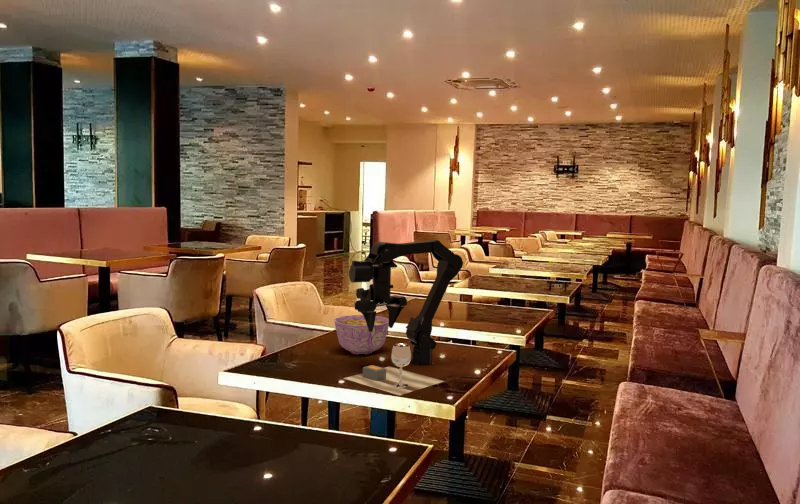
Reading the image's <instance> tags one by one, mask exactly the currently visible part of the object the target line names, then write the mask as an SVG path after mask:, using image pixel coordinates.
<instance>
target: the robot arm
mask: <svg viewBox="0 0 800 504" xmlns="http://www.w3.org/2000/svg"><path fill="white" fill-rule="evenodd" d="M427 253H431V255H432V256H433V258H434V259H435V260H436V261H437V266H436V277H435V279H434V280H433V283H432V286H431V288H430V290H429V291H428V294H427V296H426V299H425V301H424V303H423V305H422V307H421V309H420V312H419V313H418V315H417V316H416V317H413V316H411V317H410V318H409V321H408V323H407V325H406V326H405V328H406V330H405V334H406V335H405V336H406V338H407V339H408V340H409V341H410V344H411V346H413V348H412V349H413V350H412V358H411V361H412V362H411V363H412V364H413V365H417V366H423V365H430V364H432V365H436V362H435V363H434V362H433V350H435V349H436V347H437V342H436V341H435V340H434V338H432V336H431V334H432V333H433V332H432V331H433V320H434V317H435V314H436V313H437V311H438V308H439V307H440V304H441V302H442V300H443V299H444V298H443V297H444V296H445V293H446V291H447V289H448V287H449V284H450V282H451V281H452V280H453V279H454V278H455V277H457V275H458V274H459V272H460V271H461V269H462V267H463V265H464V261H463V258H462V257H461V256H460V254H456V253H454V252H453V251H452V250H450V249H449V248H448V247H446V245H444V244H443V243H442V242H441V241H440V240H437V239H429V240H422V241H421V240H419V241H411V242H400V243H395V242H389V241H387V242H385V241H377V242H374V243H373V245H372V246H371V250H370V252H369V254H368V255H367V256H366V258H365V259H364V260H351V265H350V266H349V270H348V278H349V281H350V283H369V282H371V280H372V283H371V284H369V286H368V287H369V288H368V289H364V288H363V287H361V288H357V289H356V291H355V295H356V299H358V300H356V301H355V302H354V310H355V311H357V312H358V313H360V314H361V315H363V316H364V318H365V320H366V323H367V326H368V329H369V332H372V331H373V327H374V322H375V317H376V316H377V311H376V309H377V307H378V308H379V307H383V306H385V307H386V309H387V311H388V313H387V314H388V319H389V327H388V329H389V328H390V329H392V328H393V327H394V326H395V323H396V321H397V319H398V318H399V316H400V313H401V312H402V311H403V309H405V306H408V300H407V298H406V297H405V296H403V295H396V294H395V295H391V289H394V284H392V279H391V277H392V269H393V268H398V264H396V262H394V260H395V259H397V258H400V257H402V256H408V255H410V256H411V255H417V254H419V255H420V254H427Z"/></svg>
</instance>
